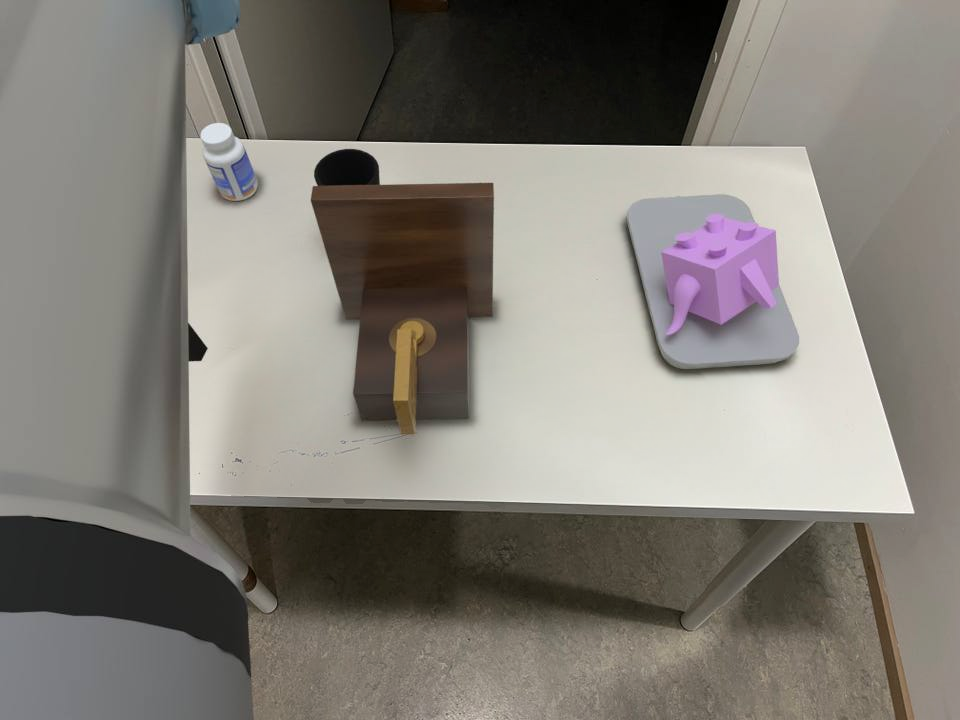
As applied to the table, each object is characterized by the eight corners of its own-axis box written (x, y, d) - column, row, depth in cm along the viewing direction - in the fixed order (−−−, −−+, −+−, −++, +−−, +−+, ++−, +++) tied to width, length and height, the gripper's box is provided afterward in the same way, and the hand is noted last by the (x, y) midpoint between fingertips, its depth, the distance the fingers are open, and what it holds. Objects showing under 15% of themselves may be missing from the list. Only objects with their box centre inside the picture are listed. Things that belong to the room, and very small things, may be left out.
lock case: (495, 418, 76) (498, 312, 59) (335, 421, 76) (291, 316, 59) (492, 303, 85) (493, 182, 68) (347, 306, 85) (312, 185, 68)
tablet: (738, 205, 93) (743, 192, 91) (799, 366, 79) (807, 356, 77) (620, 212, 93) (623, 199, 91) (661, 375, 79) (665, 365, 77)
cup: (333, 220, 93) (314, 150, 82) (389, 216, 93) (377, 145, 83) (332, 264, 88) (313, 196, 78) (391, 259, 89) (379, 190, 79)
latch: (421, 434, 68) (414, 400, 62) (395, 435, 68) (386, 400, 62) (424, 325, 75) (419, 285, 69) (401, 326, 75) (393, 285, 69)
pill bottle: (255, 171, 98) (234, 114, 90) (261, 197, 95) (240, 140, 87) (217, 180, 97) (192, 123, 89) (222, 206, 94) (196, 150, 86)
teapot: (830, 208, 72) (830, 286, 77) (731, 188, 82) (738, 258, 88) (707, 288, 67) (717, 366, 72) (618, 256, 77) (633, 326, 82)
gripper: (-15, 166, 38) (198, 414, 55) (99, 54, 46) (254, 301, 64) (-117, 178, 40) (121, 415, 57) (11, 68, 48) (185, 304, 66)
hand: (191, 354), depth 60 cm, fingers closed
